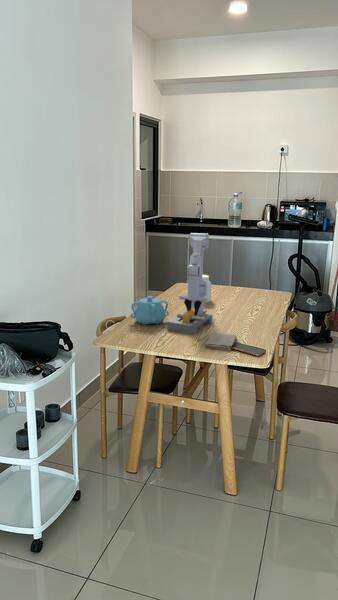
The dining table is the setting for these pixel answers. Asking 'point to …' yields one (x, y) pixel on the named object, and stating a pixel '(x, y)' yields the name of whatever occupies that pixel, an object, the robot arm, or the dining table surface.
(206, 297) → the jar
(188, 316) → the notched orange plank
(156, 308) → the decorative pot
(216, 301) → the dining table surface
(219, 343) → the washcloth
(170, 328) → the grey frame
